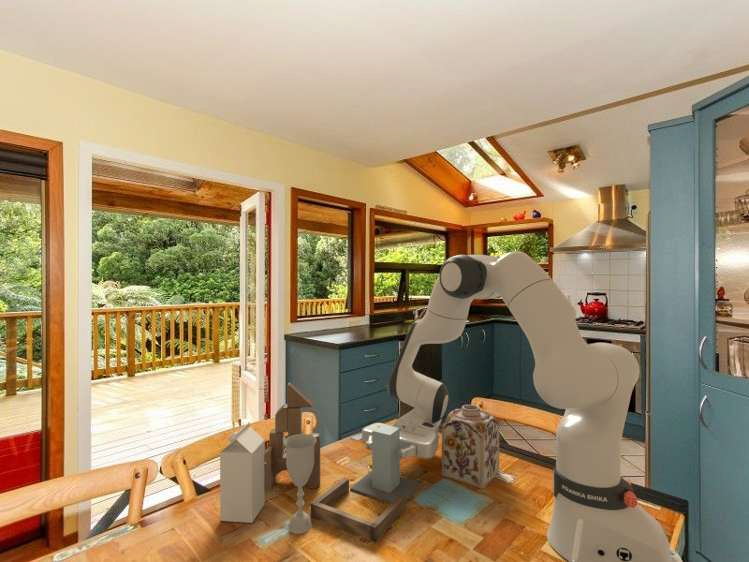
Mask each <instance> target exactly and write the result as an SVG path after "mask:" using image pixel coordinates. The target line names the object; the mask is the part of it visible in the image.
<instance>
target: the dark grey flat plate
mask: <svg viewBox="0 0 749 562" xmlns="http://www.w3.org/2000/svg"><path fill="white" fill-rule="evenodd" d="M421 486H422V483H421V482H418V481H415V480H412V479H408V478H405V477H401V476H400V484H399V485H398V486H397V487H396V488H395V489H394V490H393V491H392V492H391V493H388V492H385V491H382V490H379V489H376V488H372V470H371V471H370V472H368V473H367V474H365V475H364V476H363V477H362V478H361V479H359V480H358V481H357V482H356V483H354V484H353V485H352V486H351V487H349V491H352V492H354V493H357V494H361V495H363V496H367V497H370V498H373V499H376V500H379V501H381V502H385V503H387V504H390V505H391V504H392V503H393V502H394V501H395V500H396V499H397V498H398V497H399V496H400V495H402V496H405V503H406V502H407V501H408V500H409V499H410V498H411V497H412V495H414V494H415V492H417V490H418V489H419V488H420V487H421Z"/></svg>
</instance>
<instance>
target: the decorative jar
mask: <svg viewBox="0 0 749 562" xmlns="http://www.w3.org/2000/svg"><path fill="white" fill-rule="evenodd" d="M441 427H442V434H441V475H442V476H443V477H445V478H449V479H452V480H454V481H457V482H460V483H463V484H465V483H466V485H468V486H472V487H475V488H477V489H480V490H483V489H484V488H485V487H487V485H488V484H489V483H490V482H491V481H492V480H493V478H494V477H496V475H497V474H498V473H499V472H500V423H499V422H498V420H497V419H496V418H495V416H494V415H492V414H491V413H490V412H488V411H487V410H483V409H481V408H480V406H478V405H475V404H463V405H462V406H461V408H455V409H453V410H450V411H449V412H448V414H447V416H446V418H445V420H444V422H443V423H442V426H441Z"/></svg>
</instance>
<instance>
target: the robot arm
mask: <svg viewBox="0 0 749 562" xmlns="http://www.w3.org/2000/svg"><path fill="white" fill-rule="evenodd" d="M499 298H501V299H502V301H503V302H504V303H505V306H507V309H509V312H510V313H511V315H512V316H513V317H514V319H515V321H516V322H517V324H518V325H519V327H520V328H521V330H522V331H523V333H524V335H525V336H526V338H527V340H528V342H529V345H530V348H531V350H532V354H533V358H534V364H535V366H534V370H533V371H532V372H533V373H532V379H533V385H534V388H535V390H536V392H537V394H538V396H539V397H540V399H541V400H543V401H544V403H546V404H547V405H549V406H550V407H553V408H555V409H561V410H565V411H564V414H563V417H562V418H561V419H560V421H559V423H558V425H557V428H556V438H555V439H556V441H555V442H556V444H555V446H556V447H555V448H556V454H555V456H556V457H555V458H556V460H555V461H556V463H555V464H554V468H553V472H552V474H553V475H552V491H553V495H554V502H553V509H552V515H551V519H550V523H549V525H548V528H547V531H546V537H547V541H548V542H549V544H550V546H551V548H552V549H554V550H555V551H556V552H557V554H559V555H560V556H561V557H562V558H564V559H565V560H567V561H568V562H684V561H683V560H682V557H681V556H680V555H679V554H678V552H677V551H676V550H675V549H674V548H673V547H671V546H672V545H671V546H670V543H669V539H668V537H667V535H666V531H665V530H664V528H663V526H662V524H660V522H659V520H657V519H656V518H654V517H653V516H652V515H650V513H648V512H647V511H646V510H645V509H643V507H642V506H640V505H639V504H638V498H637V495H636V494H635V493H634V487H633V486H632V483H631V481H630V478H627V480H625V479H624V478H623V477H622V476H621V474H622V473H621V472H622V471H621V470H622V469H621V468H622V439H623V433H624V428H625V423H626V419H627V415H628V410H629V408H630V407H629V406H630V401H631V397H632V393H633V390H634V389H635V388H634V387H635V385H636V383H637V382H638V380H639V377H640V373H641V371H640V365H639V363H638V361H637V360H638V359H637V358H636V357H635V355H634V354H633V353H632V352H631V351H630V350H629V349H626V347H623V346H621V345H618V344H614V343H608V342H595V343H593V342H592V343H587V342H586V341H585V340H584V338H583V336H582V333H581V332H580V328H579V327H578V325H577V320H576V318H577V311H576V308H575V307H574V306H573V304H572V303H571V302H570V300H569V299H568V298H567V296H566V295H565V294H564V292H562V290H561V289H560V287H559V286H558V285H557V284H556V282H555V281H554V280H553V279H552V277H551V276H550V275H549V274H548V273H547V272H546V271H545V270H544V269H543V267H541V265H540V264H539V263H538V262H537V261H536V260H534V259H533V258H532V257H531V256H529V255H528V254H527V253H525V252H523V251H518V250H515V251H510V252H507V253H505V254H504V255H501V256H492V255H486V254H467V255H466V254H458V255H454V256H451V257H449V258H447V259H446V260H445V261H443V263H442V265H441V267H440V270H439V274H438V277H437V278H436V280H435V283H434V285H433V288H432V290H431V293H430V296H429V299H428V304H427V309H426V312H425V313H424V315H423V316H422V318H421V319H417V320H416V321H414V322H413V324H412V325H411V327H410V328H409V330H408V331H407V334H406V336H405V339H404V342H403V344H402V347H401V350H400V353H399V354H398V356H397V357H398V358H397V359H396V362H395V364H394V367H393V368H392V371H391V373H390V374H389V377H388V378H387V381H386V390H387V391H388V392H387V393H388V394H389V396H390V398H391V399H393V400H396V401H397V402H398V401H399V402H401V403H404V404H407V405H408V406H410V407H413V409H411V410H410V411H409V412H407V413H405V414H404V415H402V416H401V417H399V418H398V419H396V420H395V421H394V423H393V425H392V424H387V423H383V422H374V423H372V424H370V425H367V426H365V427H363V428H362V430H361V440H362V443H364V444H365V450H369V451H372V431H373V430H374V429H376V428H377V427H379V426H381V425H382V424H383V425H388V426H392V427H397V428H400V450H399V458H400V459H403V460H406V459H407V458H409V457H419V458H423V459H424V460H425V459H427V460H429V459H432V458H433V457H434V456H435V455H436V454H437V451H438V449H439V427H440V425H441V423H442V420H443V419H444V417H445V415H446V413H447V411H448V408H449V405H450V393H449V390H448V388H447V386H446V385H445V383H443V382H441V381H438V380H436V379H434V378H431V377H429V376H426V375H425V374H422V373H420V372H418V371H415V370H414V368H413V364H414V361H415V359H416V358H417V357H416V356H417V354H418V352H419V350H420V347H421V346H422V345H425V344H426V345H427V344H435V345H436V344H437V345H438V344H440V345H441V344H446V343H450V342H452V341H455V340H457V339H458V338H459V337H460V336H461V335H462V334H463V332H464V330H465V327H466V324H467V320H468V316H469V311H470V307H471V305H472V302H473V300H489V299H499Z"/></svg>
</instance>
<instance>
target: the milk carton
mask: <svg viewBox="0 0 749 562" xmlns="http://www.w3.org/2000/svg"><path fill="white" fill-rule="evenodd" d="M227 440H228V442H230V443H229V444H227V445H226V446H225V447H224V448H223V449H222V450H221V451H220V452H219V476H220V477H219V493H220V494H219V495H220V496H219V497H220V499H219V506H220V510H219V512H220V513H219V515H220V516H219V517H220V519H219V520H220V521H221V522H230V523H231V522H232V523H247V524H248V523H249V524H250V523H251V524H253V522H254V521H255V520H256V518H257V516H258V515H259V513H260V511H262V509H263V507H264V506H265V490H264V450H265V439H264V438H263V437H262V436H261V435H260V434H258V433H257V432H256V431H255V430H254V429H253V428H252V427H251V422H247V423H246V424H245V425H244V426H242V427H241V428H240V429H239V430H238V431H234V432H233V433H231V435H229V436H228V437H227Z"/></svg>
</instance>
